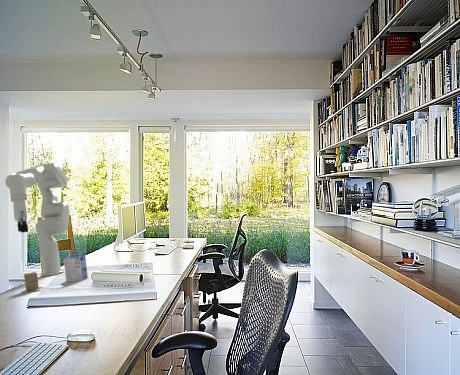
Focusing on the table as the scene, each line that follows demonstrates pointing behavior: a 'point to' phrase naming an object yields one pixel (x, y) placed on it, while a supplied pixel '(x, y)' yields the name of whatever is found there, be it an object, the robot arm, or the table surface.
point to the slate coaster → (32, 291)
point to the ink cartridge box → (75, 268)
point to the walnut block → (31, 281)
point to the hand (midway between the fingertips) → (23, 231)
